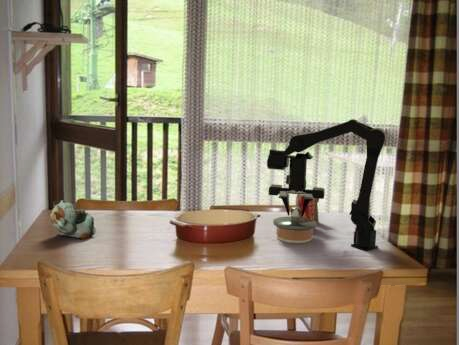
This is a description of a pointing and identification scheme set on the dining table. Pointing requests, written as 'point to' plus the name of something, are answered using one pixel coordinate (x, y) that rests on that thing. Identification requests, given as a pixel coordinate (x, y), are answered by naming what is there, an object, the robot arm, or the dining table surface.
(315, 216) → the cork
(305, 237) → the bowl
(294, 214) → the lid
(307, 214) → the soda can
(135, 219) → the dining table surface
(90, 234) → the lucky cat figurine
